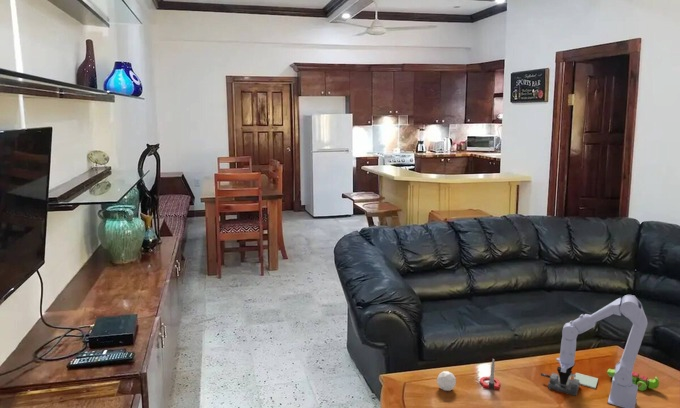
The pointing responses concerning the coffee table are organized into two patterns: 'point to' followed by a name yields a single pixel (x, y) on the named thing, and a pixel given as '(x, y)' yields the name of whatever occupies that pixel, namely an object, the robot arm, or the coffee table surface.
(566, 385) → the hollow square tube
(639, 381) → the toy crocodile
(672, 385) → the coffee table surface
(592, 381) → the set down mat
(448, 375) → the geometric ball
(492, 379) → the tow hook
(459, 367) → the coffee table surface
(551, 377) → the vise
